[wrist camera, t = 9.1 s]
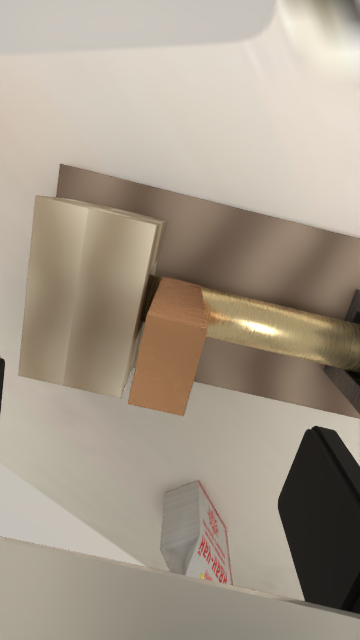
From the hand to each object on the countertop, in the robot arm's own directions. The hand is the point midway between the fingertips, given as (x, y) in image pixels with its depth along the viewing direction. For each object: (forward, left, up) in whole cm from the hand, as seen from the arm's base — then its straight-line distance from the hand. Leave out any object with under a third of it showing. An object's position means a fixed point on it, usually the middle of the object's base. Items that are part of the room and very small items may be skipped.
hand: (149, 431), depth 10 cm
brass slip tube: (-6, 0, -15) cm, 16 cm away
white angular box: (-7, +22, -18) cm, 29 cm away
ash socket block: (+5, 0, -17) cm, 17 cm away
